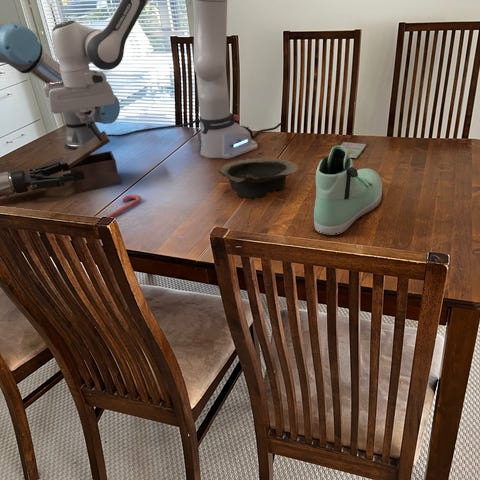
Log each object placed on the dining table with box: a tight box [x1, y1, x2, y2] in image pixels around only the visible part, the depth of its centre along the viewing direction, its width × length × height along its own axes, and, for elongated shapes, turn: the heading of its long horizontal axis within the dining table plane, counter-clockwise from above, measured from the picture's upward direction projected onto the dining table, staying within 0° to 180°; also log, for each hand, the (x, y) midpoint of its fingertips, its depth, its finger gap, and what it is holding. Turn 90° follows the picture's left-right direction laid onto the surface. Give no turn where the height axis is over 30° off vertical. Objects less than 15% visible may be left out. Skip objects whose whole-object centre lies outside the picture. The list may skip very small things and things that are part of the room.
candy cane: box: [106, 194, 142, 218], centre depth 149 cm, size 6×15×2 cm, turn 145°
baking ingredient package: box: [340, 141, 367, 159], centre depth 177 cm, size 9×1×15 cm
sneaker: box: [313, 145, 383, 236], centre depth 133 cm, size 14×35×20 cm, turn 152°
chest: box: [69, 150, 121, 194], centre depth 165 cm, size 15×10×9 cm, turn 111°
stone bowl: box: [217, 157, 299, 201], centre depth 152 cm, size 25×25×9 cm
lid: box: [65, 119, 111, 168], centre depth 159 cm, size 16×10×8 cm, turn 110°
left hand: (82, 169), depth 164 cm, fingers closed on chest, 9 cm apart
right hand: (87, 121), depth 157 cm, fingers closed
